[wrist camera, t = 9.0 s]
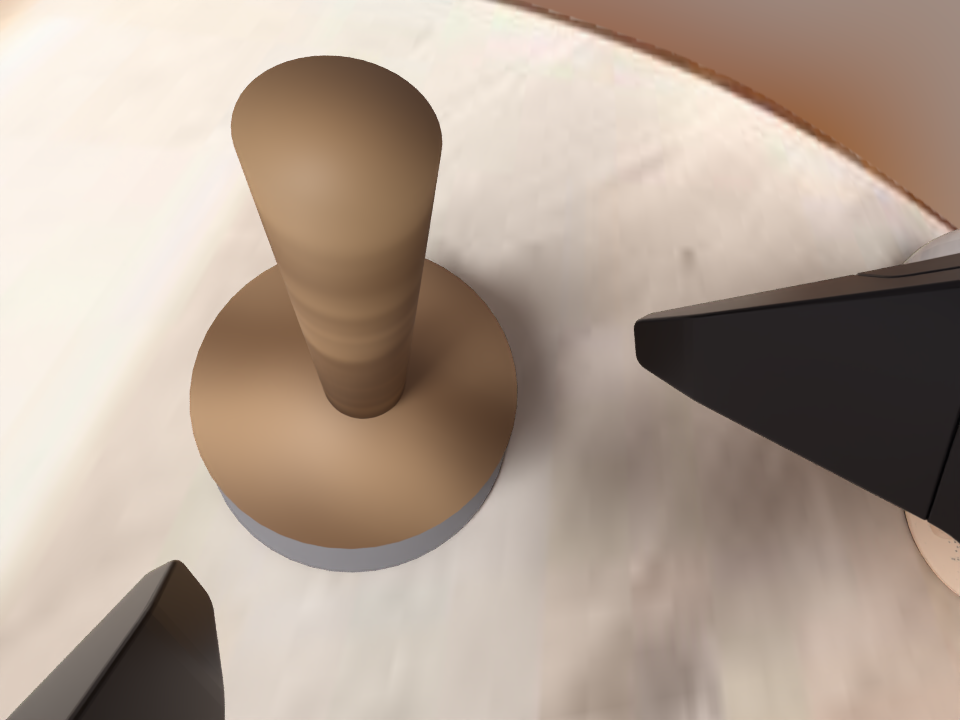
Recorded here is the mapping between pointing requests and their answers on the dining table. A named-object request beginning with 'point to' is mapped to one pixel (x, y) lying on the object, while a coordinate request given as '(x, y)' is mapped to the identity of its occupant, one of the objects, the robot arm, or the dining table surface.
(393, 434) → the lid
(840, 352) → the robot arm
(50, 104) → the dining table surface
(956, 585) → the teacup with lid
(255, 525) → the trivet
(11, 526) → the dining table surface
